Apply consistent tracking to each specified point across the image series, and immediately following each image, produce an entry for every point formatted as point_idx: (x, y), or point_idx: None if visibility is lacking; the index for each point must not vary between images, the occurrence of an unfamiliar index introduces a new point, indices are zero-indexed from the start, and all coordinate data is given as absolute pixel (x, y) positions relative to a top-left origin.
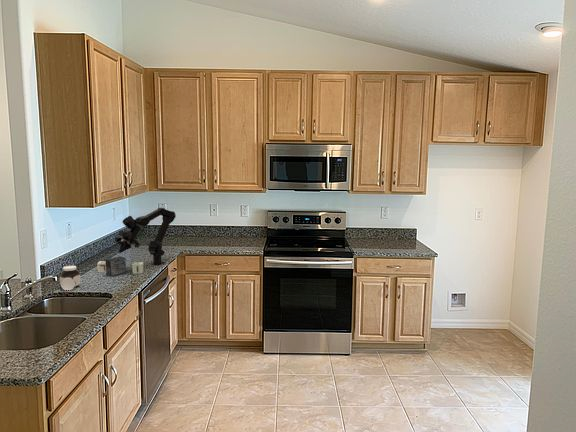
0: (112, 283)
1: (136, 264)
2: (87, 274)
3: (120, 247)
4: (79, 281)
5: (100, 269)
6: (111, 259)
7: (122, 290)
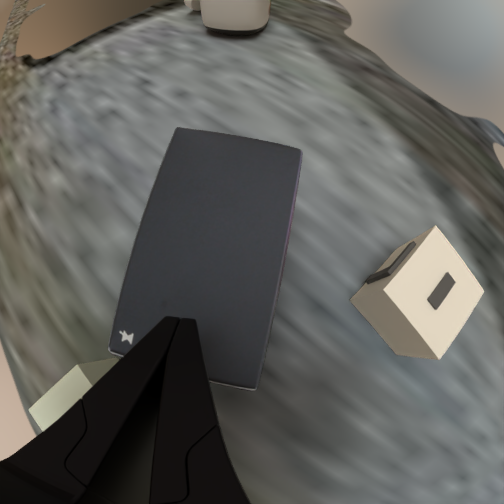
0: (88, 123)
1: (55, 385)
2: (402, 181)
3: (190, 420)
4: (201, 14)
5: (395, 257)
6: (190, 156)
7: (12, 104)
